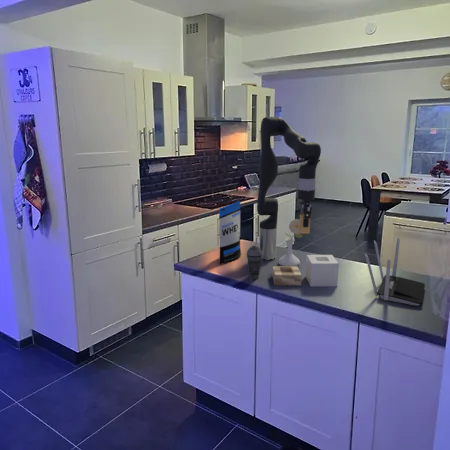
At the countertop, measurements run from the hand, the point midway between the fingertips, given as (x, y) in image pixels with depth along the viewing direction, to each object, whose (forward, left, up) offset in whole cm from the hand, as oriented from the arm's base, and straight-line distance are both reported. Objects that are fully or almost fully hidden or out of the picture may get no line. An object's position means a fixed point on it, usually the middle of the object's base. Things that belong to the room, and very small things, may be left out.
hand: (304, 225), depth 178 cm
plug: (0, 0, -3) cm, 3 cm away
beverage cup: (-4, -22, -27) cm, 35 cm away
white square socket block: (+1, +9, -27) cm, 28 cm away
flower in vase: (-21, -2, -27) cm, 34 cm away
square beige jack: (0, -7, -27) cm, 28 cm away
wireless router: (+13, +37, -27) cm, 48 cm away
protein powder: (-33, -34, -27) cm, 54 cm away
